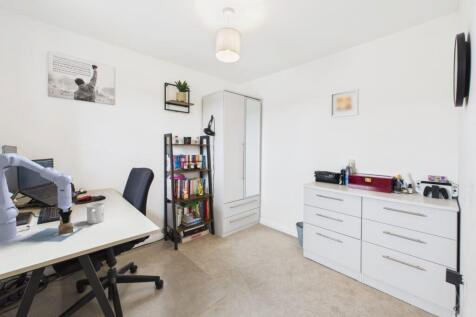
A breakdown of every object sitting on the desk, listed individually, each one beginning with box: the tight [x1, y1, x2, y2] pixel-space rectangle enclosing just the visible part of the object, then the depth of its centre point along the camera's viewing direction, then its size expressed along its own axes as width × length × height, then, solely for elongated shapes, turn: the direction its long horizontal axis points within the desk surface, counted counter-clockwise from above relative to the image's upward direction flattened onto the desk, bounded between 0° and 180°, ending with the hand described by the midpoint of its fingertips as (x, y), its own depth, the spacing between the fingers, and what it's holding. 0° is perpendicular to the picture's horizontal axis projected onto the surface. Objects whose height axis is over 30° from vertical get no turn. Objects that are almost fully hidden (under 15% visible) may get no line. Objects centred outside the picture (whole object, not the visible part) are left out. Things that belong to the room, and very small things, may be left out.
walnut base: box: [57, 222, 74, 235], centre depth 113 cm, size 6×6×4 cm
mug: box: [86, 202, 105, 225], centre depth 127 cm, size 12×9×11 cm
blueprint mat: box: [19, 227, 84, 243], centre depth 110 cm, size 20×16×1 cm
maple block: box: [59, 216, 72, 228], centre depth 112 cm, size 4×4×5 cm
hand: (65, 221), depth 112 cm, fingers open, 7 cm apart
